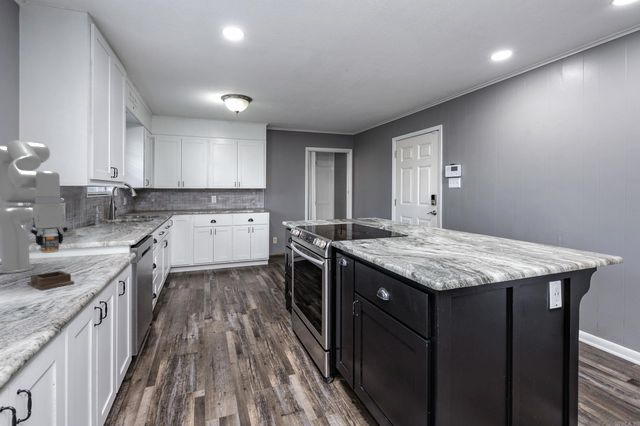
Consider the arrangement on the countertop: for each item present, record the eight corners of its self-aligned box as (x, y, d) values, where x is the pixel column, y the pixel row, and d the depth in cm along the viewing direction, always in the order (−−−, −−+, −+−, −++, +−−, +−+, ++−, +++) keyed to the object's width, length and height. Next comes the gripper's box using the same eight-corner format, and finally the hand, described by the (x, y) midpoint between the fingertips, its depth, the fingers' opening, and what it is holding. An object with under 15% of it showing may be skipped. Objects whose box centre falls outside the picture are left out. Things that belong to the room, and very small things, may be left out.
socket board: (27, 284, 129) (27, 275, 129) (59, 278, 139) (59, 269, 138) (41, 290, 122) (40, 280, 122) (74, 283, 132) (74, 274, 131)
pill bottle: (48, 253, 126) (47, 229, 126) (37, 252, 127) (36, 229, 127) (62, 251, 132) (61, 228, 131) (51, 250, 133) (50, 227, 132)
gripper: (69, 200, 138) (70, 240, 139) (17, 201, 123) (18, 246, 124) (77, 201, 134) (78, 242, 135) (24, 201, 119) (26, 248, 120)
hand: (49, 243), depth 129 cm, fingers closed on pill bottle, 5 cm apart
